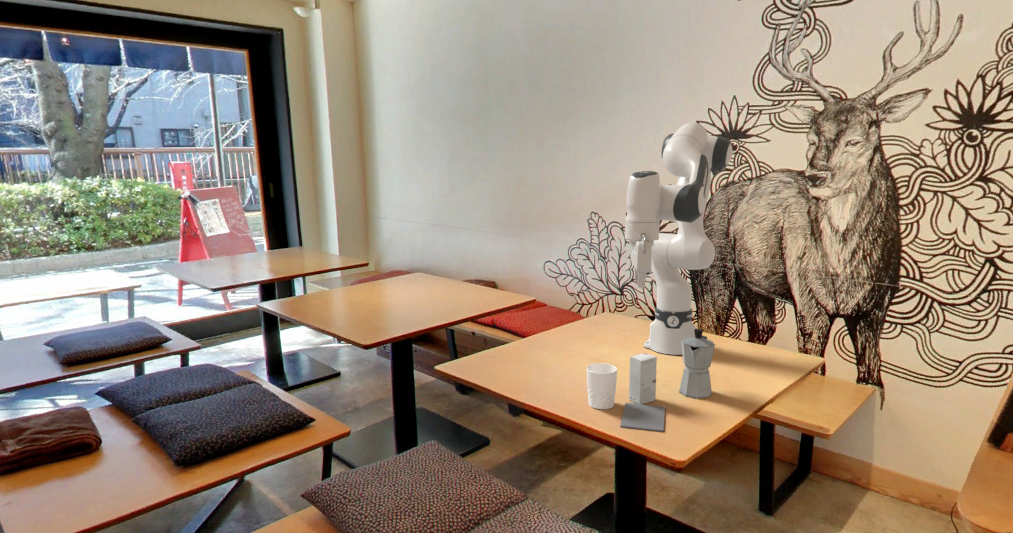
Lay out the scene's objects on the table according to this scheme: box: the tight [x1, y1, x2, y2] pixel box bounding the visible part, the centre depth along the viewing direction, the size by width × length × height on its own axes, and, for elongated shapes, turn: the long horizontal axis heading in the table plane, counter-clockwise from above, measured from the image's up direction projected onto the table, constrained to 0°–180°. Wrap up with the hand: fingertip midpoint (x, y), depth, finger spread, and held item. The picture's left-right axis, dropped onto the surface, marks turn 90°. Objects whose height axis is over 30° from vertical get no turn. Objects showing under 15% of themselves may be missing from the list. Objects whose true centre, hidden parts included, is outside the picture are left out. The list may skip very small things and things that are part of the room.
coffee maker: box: [678, 328, 716, 400], centre depth 160 cm, size 15×9×18 cm, turn 151°
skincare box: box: [628, 352, 658, 405], centre depth 155 cm, size 6×4×12 cm
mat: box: [619, 402, 666, 433], centre depth 146 cm, size 14×10×1 cm
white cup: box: [586, 362, 618, 410], centre depth 153 cm, size 8×8×10 cm
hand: (639, 284), depth 157 cm, fingers open, 8 cm apart
